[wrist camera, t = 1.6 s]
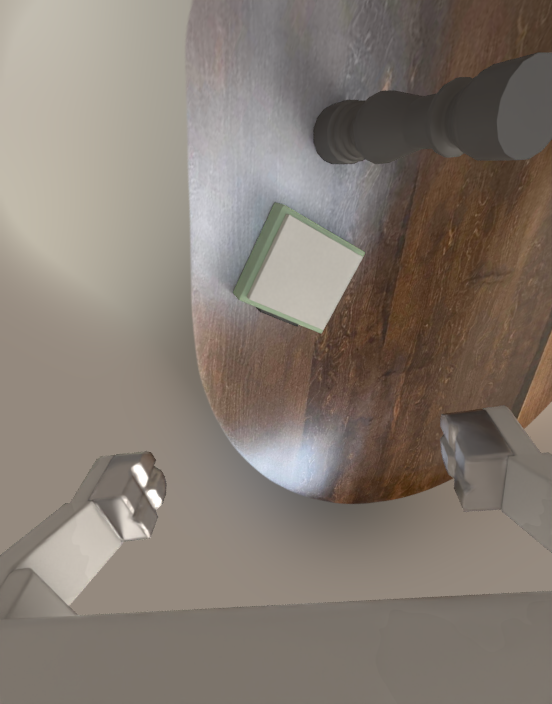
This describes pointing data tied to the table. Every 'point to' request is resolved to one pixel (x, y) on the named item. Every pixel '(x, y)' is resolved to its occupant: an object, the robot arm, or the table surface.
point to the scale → (297, 270)
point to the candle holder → (447, 118)
